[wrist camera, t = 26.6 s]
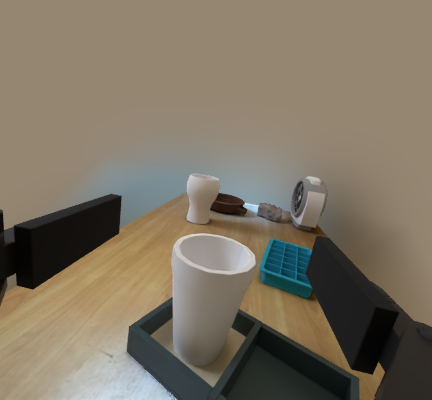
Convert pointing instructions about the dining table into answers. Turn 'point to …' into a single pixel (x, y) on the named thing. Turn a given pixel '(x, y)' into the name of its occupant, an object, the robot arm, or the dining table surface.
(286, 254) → the ice cube tray
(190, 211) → the cup
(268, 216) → the stone
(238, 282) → the foam cup
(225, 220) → the dining table surface
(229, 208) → the dish
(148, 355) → the divided tray
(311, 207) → the alarm clock
